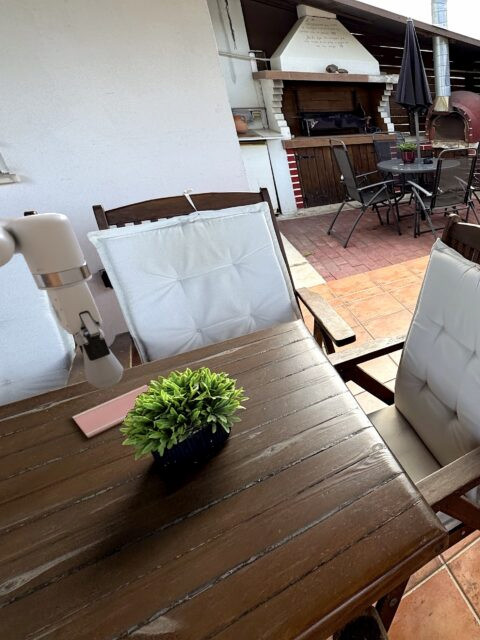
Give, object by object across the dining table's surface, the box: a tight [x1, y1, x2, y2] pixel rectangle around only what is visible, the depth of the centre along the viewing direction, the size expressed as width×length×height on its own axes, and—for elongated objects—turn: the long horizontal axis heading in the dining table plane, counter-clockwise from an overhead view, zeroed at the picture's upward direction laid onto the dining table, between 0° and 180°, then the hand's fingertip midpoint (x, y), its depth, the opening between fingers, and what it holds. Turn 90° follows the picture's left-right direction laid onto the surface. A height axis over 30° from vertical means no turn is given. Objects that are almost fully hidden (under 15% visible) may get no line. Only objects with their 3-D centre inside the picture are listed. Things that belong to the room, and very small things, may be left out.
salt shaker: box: [73, 328, 124, 389], centre depth 86 cm, size 6×6×13 cm
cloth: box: [72, 384, 149, 439], centre depth 91 cm, size 13×11×1 cm
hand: (96, 352), depth 86 cm, fingers closed on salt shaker, 4 cm apart
